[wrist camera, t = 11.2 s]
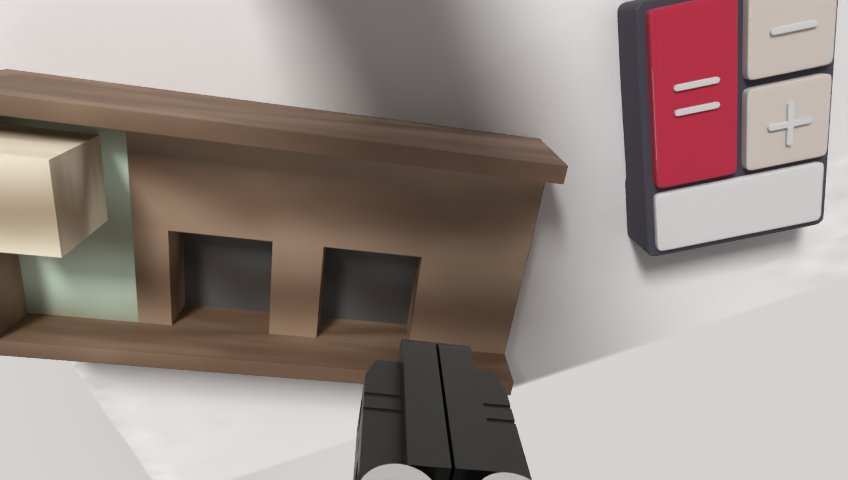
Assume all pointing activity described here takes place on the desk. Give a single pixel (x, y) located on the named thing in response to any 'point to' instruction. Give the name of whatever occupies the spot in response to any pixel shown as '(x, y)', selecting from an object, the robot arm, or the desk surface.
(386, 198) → the trap track
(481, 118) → the desk surface
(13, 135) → the birch block
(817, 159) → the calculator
